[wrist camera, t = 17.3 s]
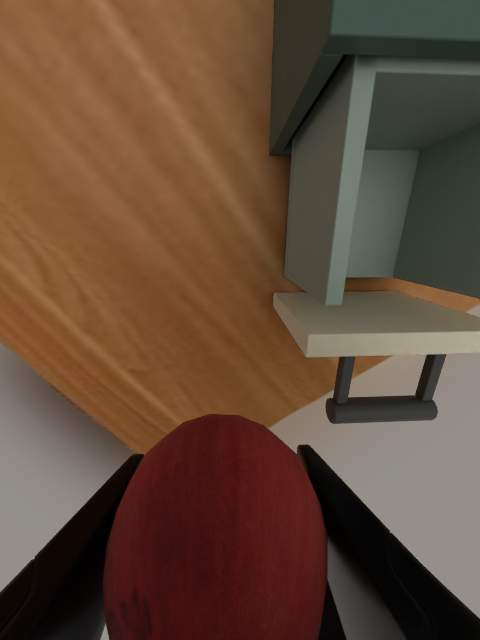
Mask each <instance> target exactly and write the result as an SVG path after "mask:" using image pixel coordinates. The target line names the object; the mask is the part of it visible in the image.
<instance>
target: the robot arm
mask: <svg viewBox="0 0 480 640" xmlns="http://www.w3.org/2000/svg"><path fill="white" fill-rule="evenodd" d="M297 455H298V456H299V458H300V460H301V462H302V465H303V467H304V469H305V471H306V473H307V475H308V477H309V479H310V482H311V484H312V486H313V488H314V491H315V493H316V495H317V498H318V500H319V502H320V504H321V507H322V512H323V518H324V523H325V528H326V533H327V539H328V575H327V583H326V591H325V599H324V607H323V614H322V621H321V627H320V631H319V636H318V640H480V619H479V618H478V617H477V616H476V615H475V614H474V613H473V612H472V611H471V610H470V609H469V608H468V607H467V606H465V605H464V604H463V603H462V602H461V601H460V600H459V599H458V598H457V597H456V596H455V595H454V594H452V592H450V591H449V590H448V589H447V588H446V587H445V586H444V585H443V584H442V583H441V582H440V581H439V580H438V579H437V578H435V576H434V575H433V574H431V572H429V571H428V570H427V569H426V568H425V567H424V566H423V565H422V564H421V563H420V562H419V561H418V560H417V559H416V558H415V557H414V556H413V555H412V554H411V552H410V551H408V549H407V548H406V547H405V546H404V545H403V544H402V543H401V542H400V541H399V540H398V539H397V538H396V537H395V536H394V535H393V534H392V533H390V531H389V529H388V528H387V527H385V525H384V524H383V523H382V522H381V521H380V520H379V519H378V518H377V517H376V516H375V515H374V514H373V512H372V511H371V510H370V509H369V508H368V507H367V506H366V505H365V504H364V503H363V502H362V501H361V500H360V499H359V498H358V497H357V495H356V494H355V493H354V492H353V491H352V490H351V489H350V488H349V487H348V486H347V485H346V484H345V483H344V482H343V481H342V479H341V478H340V477H338V475H337V474H336V473H335V472H334V471H333V470H332V469H331V468H330V467H329V466H328V465H327V464H326V463H325V461H324V460H323V459H322V458H321V457H320V456H319V455H318V454H317V453H316V452H315V451H314V450H313V449H312V448H311V446H309V445H299V446H298V448H297ZM143 458H144V454H133V455H132V456H130V457H129V458H128V460H127V461H126V462H125V463H124V464H123V465H122V466H121V467H120V468H119V469H118V470H117V471H116V472H115V473H114V474H113V475H112V476H111V477H110V479H108V480H107V482H106V483H105V484H104V485H103V486H102V487H101V488H100V489H99V490H98V491H97V492H96V493H95V494H94V495H93V496H92V497H91V498H90V499H89V500H88V501H87V503H86V504H85V505H84V506H83V507H82V508H81V509H80V510H79V511H78V512H77V513H76V514H75V515H74V516H73V517H72V518H71V519H70V520H69V521H68V522H67V523H66V525H65V526H64V527H63V528H62V529H61V530H60V531H59V532H58V533H57V534H56V535H55V536H54V537H53V538H52V539H51V540H50V541H49V542H48V543H47V545H46V546H45V547H44V548H43V549H42V550H41V551H40V552H39V553H38V554H37V555H36V556H35V558H34V559H33V560H31V561H30V562H29V563H28V564H27V566H25V567H24V568H23V569H22V571H21V572H20V573H19V574H18V575H17V576H16V577H15V578H14V579H13V580H12V581H11V582H10V583H9V584H8V585H7V586H6V587H5V588H4V589H3V590H2V591H1V592H0V640H100V639H101V636H102V633H103V630H104V627H105V623H106V621H105V607H104V593H103V577H104V567H105V556H106V546H107V543H108V539H109V536H110V532H111V529H112V525H113V522H114V518H115V515H116V511H117V508H118V506H119V504H120V502H121V500H122V497H123V495H124V493H125V491H126V489H127V487H128V484H129V482H130V480H131V479H132V477H133V475H134V473H135V472H136V470H137V468H138V466H139V465H140V463H141V461H142V459H143Z"/></svg>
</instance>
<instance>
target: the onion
mask: <svg viewBox="0 0 480 640" xmlns="http://www.w3.org/2000/svg"><path fill="white" fill-rule="evenodd" d="M327 575H328V539H327V533H326V528H325V523H324V518H323V512H322V507H321V504H320V502H319V500H318V498H317V495H316V493H315V491H314V488H313V486H312V484H311V482H310V479H309V477H308V475H307V473H306V471H305V469H304V467H303V465H302V462H301V460H300V458H299V456H298V455H297V454H296V453H295V452H294V451H293V450H291V449H290V448H289V447H288V446H287V445H286V444H285V443H284V442H282V440H280V439H279V438H278V437H277V436H276V435H274V434H273V433H272V432H271V431H270V430H269V429H267V428H266V427H265V426H264V425H262V424H259V423H256V422H254V421H251V420H249V419H246V418H244V417H241V416H239V415H220V414H208V415H205V416H202V417H199V418H196V419H192V420H189V421H186V422H183V423H182V424H181V425H179V426H178V427H177V428H176V429H174V430H173V431H172V432H170V433H169V434H168V435H166V436H165V437H164V438H163V439H162V440H161V441H160V442H158V443H157V444H156V445H155V446H154V447H153V448H152V449H151V450H150V451H148V452H147V453H146V454H145V456H144V458H143V459H142V461H141V463H140V465H139V466H138V468H137V470H136V472H135V473H134V475H133V477H132V479H131V480H130V482H129V484H128V487H127V489H126V491H125V493H124V495H123V497H122V500H121V502H120V504H119V506H118V508H117V511H116V515H115V518H114V522H113V525H112V529H111V532H110V536H109V539H108V543H107V546H106V556H105V567H104V577H103V593H104V607H105V621H106V625H107V630H108V635H109V639H110V640H318V636H319V631H320V627H321V621H322V614H323V607H324V599H325V591H326V583H327Z"/></svg>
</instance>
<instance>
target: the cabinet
mask: <svg viewBox="0 0 480 640" xmlns="http://www.w3.org/2000/svg"><path fill="white" fill-rule="evenodd" d="M348 54H359V55H387V56H415V57H444V58H472V59H480V0H275V1H274V31H273V60H272V89H271V118H270V147H269V154H270V155H291V154H292V139H293V137H294V136H295V134H296V133H297V131H298V130H299V128H300V127H301V125H302V124H303V122H304V121H305V119H306V118H307V116H308V115H309V113H310V112H311V110H312V109H313V107H314V106H315V104H316V103H317V101H318V100H319V98H320V97H321V95H322V94H323V92H324V91H325V89H326V88H327V86H328V84H329V83H330V81H331V80H332V78H333V77H334V75H335V74H336V72H337V71H338V69H339V68H340V66H341V65H342V63H343V62H344V60H345V59H346V57H347V56H348Z"/></svg>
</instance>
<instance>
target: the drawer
mask: <svg viewBox="0 0 480 640" xmlns="http://www.w3.org/2000/svg"><path fill="white" fill-rule="evenodd" d="M284 277H286V278H287V279H288V280H290V281H291V282H293V283H294V284H295V285H297V286H298V287H300V288H301V289H303V290H304V291H305V292H278V293H274V295H273V307H274V309H275V310H276V312H277V313H278V315H279V316H280V318H281V319H282V321H283V322H284V324H285V326H286V327H287V329H288V330H289V332H290V333H291V335H292V336H293V338H294V339H295V341H296V342H297V344H298V346H299V347H300V349H301V350H302V352H303V353H304V355H305V356H306V357H339V363H338V369H337V376H336V382H335V389H334V395H333V398H329V399H327V401H326V413H327V417H328V419H329V421H330V422H331V423H333V424H340V423H363V422H364V423H367V422H393V421H421V420H433V419H435V418H436V417H437V412H438V411H437V406H436V404H435V402H434V401H433V400H432V398H433V395H434V392H435V388H436V385H437V382H438V379H439V376H440V373H441V370H442V366H443V364H444V360H445V357H446V354H468V353H480V317H477V316H474V315H470V314H468V313H465V312H461V311H458V310H455V309H452V308H449V307H446V306H443V305H439V304H436V303H433V302H430V301H427V300H424V299H421V298H418V297H414V296H411V295H408V294H405V293H402V292H399V291H366V292H344V287H345V280H346V278H377V277H394V278H398V279H402V280H406V281H410V282H414V283H418V284H422V285H426V286H430V287H434V288H438V289H442V290H446V291H451V292H455V293H459V294H463V295H467V296H471V297H475V298H479V299H480V59H472V58H444V57H415V56H387V55H359V54H348V56H347V57H346V59H345V60H344V62H343V63H342V65H341V66H340V68H339V69H338V71H337V72H336V74H335V75H334V77H333V78H332V80H331V81H330V83H329V84H328V86H327V88H326V89H325V91H324V92H323V94H322V95H321V97H320V98H319V100H318V101H317V103H316V104H315V106H314V107H313V109H312V110H311V112H310V113H309V115H308V116H307V118H306V119H305V121H304V122H303V124H302V125H301V127H300V128H299V130H298V131H297V133H296V134H295V136H294V137H293V139H292V154H291V170H290V187H289V203H288V220H287V236H286V253H285V269H284ZM426 354H427V356H426V359H425V363H424V366H423V369H422V373H421V377H420V380H419V383H418V387H417V390H416V394H415V395H414V396H383V397H353V398H352V397H351V398H348V394H349V388H350V383H351V378H352V372H353V366H354V361H355V356H385V355H426Z"/></svg>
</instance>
